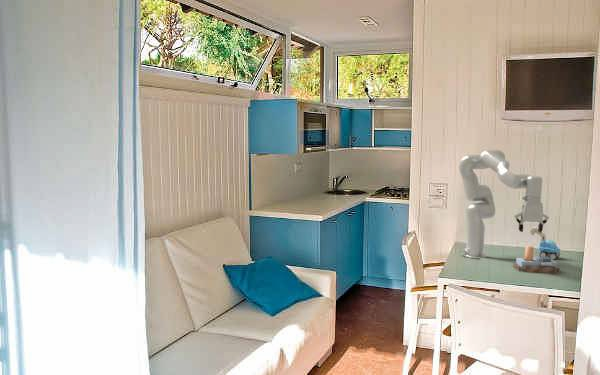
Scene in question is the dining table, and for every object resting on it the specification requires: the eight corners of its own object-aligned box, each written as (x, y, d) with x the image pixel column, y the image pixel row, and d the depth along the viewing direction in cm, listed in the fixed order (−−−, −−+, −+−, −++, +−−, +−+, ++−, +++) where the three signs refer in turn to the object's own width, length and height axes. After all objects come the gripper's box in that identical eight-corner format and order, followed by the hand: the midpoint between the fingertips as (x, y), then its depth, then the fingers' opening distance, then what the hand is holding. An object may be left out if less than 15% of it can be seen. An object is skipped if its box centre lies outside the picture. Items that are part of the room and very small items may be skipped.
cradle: (519, 274, 278) (520, 266, 277) (511, 268, 291) (511, 260, 290) (561, 276, 277) (561, 267, 276) (551, 269, 290) (551, 261, 289)
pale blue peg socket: (523, 272, 277) (523, 259, 276) (514, 265, 291) (514, 253, 290) (558, 273, 276) (559, 261, 275) (548, 266, 290) (548, 254, 289)
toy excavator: (531, 253, 327) (533, 225, 325) (561, 258, 316) (563, 229, 314) (527, 255, 320) (529, 227, 318) (557, 260, 310) (559, 231, 308)
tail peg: (525, 266, 282) (527, 247, 281) (523, 264, 286) (524, 245, 285) (533, 266, 282) (534, 247, 280) (530, 264, 286) (532, 246, 284)
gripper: (518, 200, 276) (516, 232, 278) (552, 201, 275) (550, 233, 277) (513, 198, 284) (511, 229, 286) (547, 199, 283) (544, 230, 285)
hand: (530, 231), depth 282 cm, fingers open, 9 cm apart
